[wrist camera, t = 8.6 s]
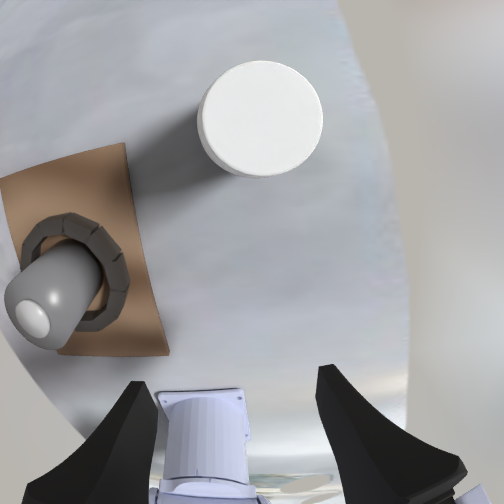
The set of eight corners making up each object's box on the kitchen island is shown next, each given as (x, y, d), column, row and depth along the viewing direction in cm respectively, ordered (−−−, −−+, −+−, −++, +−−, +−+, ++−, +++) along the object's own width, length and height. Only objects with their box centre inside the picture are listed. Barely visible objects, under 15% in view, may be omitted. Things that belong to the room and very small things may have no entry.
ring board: (169, 350, 22) (166, 367, 20) (61, 350, 22) (53, 364, 20) (124, 142, 16) (113, 144, 14) (3, 177, 15) (-13, 183, 14)
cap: (111, 297, 19) (78, 355, 13) (60, 300, 19) (22, 352, 13) (93, 234, 17) (45, 279, 12) (41, 242, 17) (-10, 284, 11)
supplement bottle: (288, 161, 17) (337, 185, 10) (211, 168, 17) (198, 199, 9) (281, 85, 15) (327, 49, 8) (202, 92, 15) (182, 58, 8)
